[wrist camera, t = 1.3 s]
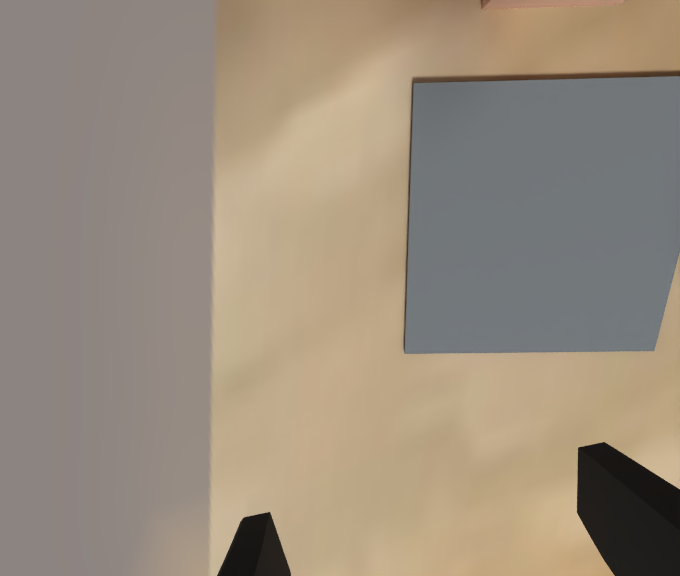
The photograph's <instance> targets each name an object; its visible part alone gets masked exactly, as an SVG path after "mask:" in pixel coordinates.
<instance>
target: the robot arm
mask: <svg viewBox="0 0 680 576" xmlns="http://www.w3.org/2000/svg"><path fill="white" fill-rule="evenodd" d="M577 513H578V515H579V517H580V519H581V521H582V522H583V524H584V526H585V528H586V530H587V531H588V533H589V535H590V537H591V539H592V540H593V542H594V544H595V545H596V547H597V549H598V551H599V552H600V554H601V556H602V557H603V559H604V561H605V562H606V564H607V565H608V566H609V568H610V569H611V571H612V572H613V574H614V575H615V576H680V489H678V488H676V487H675V486H673V485H672V484H670V483H668V482H667V481H665V480H664V479H662V478H661V477H659V476H657V475H656V474H654V473H653V472H651V471H649V470H648V469H646V468H645V467H643V466H642V465H640V464H638V463H637V462H635V461H634V460H632V459H630V458H629V457H627V456H626V455H624V454H623V453H621V452H619V451H618V450H616V449H615V448H613V447H611V446H610V445H608V444H606V443H605V442H603V443H598V444H593V445H588V446H584V447H579V448H578V488H577ZM217 576H291V572H290V569H289V566H288V563H287V560H286V557H285V554H284V552H283V549H282V546H281V543H280V540H279V537H278V534H277V531H276V528H275V525H274V522H273V519H272V516H271V514H270V512H268V513H263V514H258V515H254V516H249V517H244V518H243V519H242V521H241V522H240V525H239V527H238V529H237V532H236V534H235V536H234V539H233V541H232V544H231V546H230V548H229V550H228V553H227V555H226V557H225V560H224V562H223V564H222V566H221V568H220V571H219V573H218V575H217Z"/></svg>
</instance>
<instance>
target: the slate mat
mask: <svg viewBox="0 0 680 576" xmlns="http://www.w3.org/2000/svg"><path fill="white" fill-rule="evenodd" d="M679 252H680V76H669V77H631V78H592V79H554V80H515V81H476V82H438V83H413V103H412V133H411V164H410V194H409V225H408V255H407V286H406V316H405V346H404V352H405V354H428V353H517V352H606V351H654V350H655V346H656V342H657V338H658V334H659V330H660V326H661V322H662V318H663V315H664V311H665V307H666V303H667V299H668V295H669V291H670V287H671V283H672V279H673V275H674V271H675V268H676V264H677V260H678V256H679Z"/></svg>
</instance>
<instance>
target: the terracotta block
mask: <svg viewBox="0 0 680 576" xmlns="http://www.w3.org/2000/svg"><path fill="white" fill-rule="evenodd" d="M623 1H626V0H482V9H507V8H540V7H574V6H607V5H617V4H619V3H621V2H623Z"/></svg>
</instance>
